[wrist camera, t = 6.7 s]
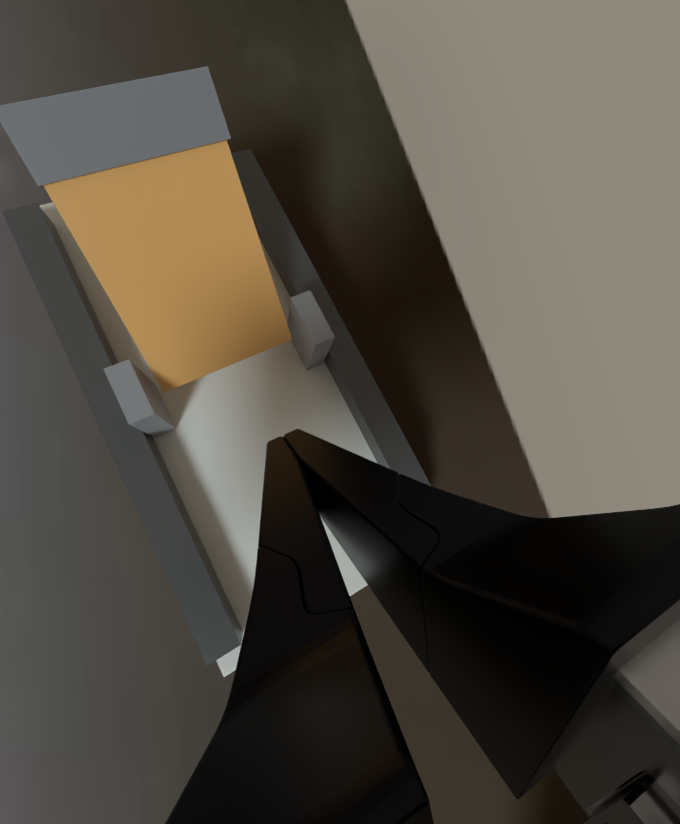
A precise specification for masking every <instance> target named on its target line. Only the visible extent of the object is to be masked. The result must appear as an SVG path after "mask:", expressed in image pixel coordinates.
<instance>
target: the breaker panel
mask: <svg viewBox="0 0 680 824" xmlns="http://www.w3.org/2000/svg"><path fill="white" fill-rule="evenodd" d="M231 155H232V158H233V161H234V164H235V167H236V170H237V173H238V176H239V179H240V182H241V185H242V188H243V191H244V194H245V197H246V200H247V203H248V206H249V209H250V213H251V216H252V219H253V222H254V225H255V228H256V231H257V234H258V237H259V240H260V243H261V246H262V249H263V252H264V255H265V258H266V261H267V264H268V267H269V270H270V273H271V276H272V279H273V282H274V285H275V288H276V292H277V295H278V298H279V301H280V304H281V307H282V310H283V313H284V316H285V319H286V322H287V325H288V328H289V331H290V334H291V337H292V340H290V341H287V342H285V343H283V344H280V345H278V346H275V347H273V348H270V349H268V350H266V351H263V352H261V353H258V354H256V355H254V356H251V357H249V358H246V359H244V360H242V361H239V362H237V363H234V364H232V365H229V366H227V367H225V368H222V369H220V370H217V371H215V372H213V373H210V374H208V375H205V376H203V377H200V378H198V379H196V380H193V381H191V382H188V383H186V384H184V385H181V386H179V387H176V388H174V389H171V390H169V391H167V392H164V391H163V389H162V388H161V386H160V384H159V383H158V381H157V379H156V378H155V376H154V374H153V372H152V371H151V369H150V367H149V366H148V364H147V362H146V360H145V359H144V357H143V355H142V354H141V352H140V350H139V348H138V347H137V345H136V343H135V342H134V340H133V338H132V336H131V335H130V333H129V331H128V330H127V328H126V326H125V324H124V323H123V321H122V319H121V318H120V316H119V314H118V312H117V311H116V309H115V307H114V306H113V304H112V302H111V300H110V299H109V297H108V295H107V294H106V292H105V290H104V288H103V287H102V285H101V283H100V282H99V280H98V278H97V276H96V275H95V273H94V271H93V270H92V268H91V266H90V264H89V263H88V261H87V259H86V258H85V256H84V254H83V252H82V251H81V249H80V247H79V246H78V244H77V242H76V240H75V239H74V237H73V235H72V234H71V232H70V230H69V228H68V227H67V225H66V223H65V222H64V220H63V218H62V216H61V215H60V213H59V211H58V210H57V208H56V206H55V204H54V203H53V202H52V203H48V204H44V205H40V206H39V205H38V204H37V203H35V204H31V205H27V206H23V207H19V208H15V209H11V210H7V211H3V214H4V216H5V219H6V221H7V223H8V225H9V228H10V230H11V232H12V234H13V236H14V239H15V241H16V243H17V245H18V248H19V250H20V252H21V254H22V256H23V259H24V261H25V263H26V265H27V268H28V270H29V272H30V274H31V276H32V279H33V281H34V283H35V285H36V288H37V290H38V292H39V294H40V296H41V299H42V301H43V303H44V305H45V308H46V310H47V312H48V314H49V316H50V319H51V321H52V323H53V325H54V328H55V330H56V332H57V334H58V336H59V339H60V341H61V343H62V345H63V347H64V350H65V352H66V354H67V356H68V359H69V361H70V363H71V365H72V367H73V370H74V372H75V374H76V376H77V379H78V381H79V383H80V385H81V387H82V390H83V392H84V394H85V396H86V399H87V401H88V403H89V405H90V407H91V410H92V412H93V414H94V416H95V419H96V421H97V423H98V425H99V427H100V430H101V432H102V434H103V436H104V439H105V441H106V443H107V445H108V447H109V450H110V452H111V454H112V456H113V459H114V461H115V463H116V465H117V467H118V470H119V472H120V474H121V476H122V479H123V481H124V483H125V485H126V487H127V490H128V492H129V494H130V496H131V499H132V501H133V503H134V505H135V507H136V510H137V512H138V514H139V516H140V519H141V521H142V523H143V525H144V527H145V530H146V532H147V534H148V536H149V539H150V541H151V543H152V545H153V547H154V550H155V552H156V554H157V556H158V559H159V561H160V563H161V565H162V567H163V570H164V572H165V574H166V576H167V579H168V581H169V583H170V585H171V587H172V590H173V592H174V594H175V596H176V599H177V601H178V603H179V605H180V607H181V610H182V612H183V614H184V616H185V619H186V621H187V623H188V625H189V627H190V630H191V632H192V634H193V636H194V639H195V641H196V643H197V645H198V647H199V650H200V652H201V654H202V656H203V659H204V661H205V663H206V665H207V666H208V665H210V664H211V663H213V662H214V661H217V663H218V665H219V668H220V670H221V672H222V674H223V676H224V677H225V676H227V675H228V674H230V673H232V672H233V671H235V670H236V666H237V662H238V657H239V653H240V648H241V644H242V639H243V635H244V630H245V626H246V621H247V617H248V612H249V607H250V602H251V597H252V592H253V586H254V579H255V570H256V562H257V550H258V548H259V547H258V540H259V529H260V517H261V505H262V493H263V481H264V470H265V458H266V446H267V442H268V441H270V440H272V439H275V438H277V437H279V436H282V437H284V434H286V433H288V432H290V431H293V430H295V429H300V430H303V431H305V432H307V433H309V434H312V435H314V436H316V437H318V438H321V439H323V440H325V441H328V442H330V443H332V444H334V445H337V446H339V447H341V448H344V449H346V450H348V451H350V452H353V453H355V454H357V455H359V456H362V457H364V458H366V459H369V460H371V461H373V462H375V463H378V464H380V465H382V466H384V467H387V468H389V469H391V470H394V471H396V472H398V473H399V475H400V474H403V475H405V476H408V477H410V478H412V479H414V480H417V481H419V482H422V483H424V484H427V485H429V486H431V484H430V482H429V481H428V479H427V477H426V475H425V473H424V471H423V469H422V467H421V466H420V464H419V462H418V460H417V458H416V456H415V454H414V453H413V451H412V449H411V447H410V445H409V443H408V441H407V440H406V438H405V436H404V434H403V432H402V430H401V428H400V426H399V425H398V423H397V421H396V419H395V417H394V415H393V413H392V412H391V410H390V408H389V406H388V404H387V402H386V400H385V399H384V397H383V395H382V393H381V391H380V389H379V387H378V385H377V384H376V382H375V380H374V378H373V376H372V374H371V372H370V371H369V369H368V367H367V365H366V363H365V361H364V359H363V357H362V356H361V354H360V352H359V350H358V348H357V346H356V344H355V343H354V341H353V339H352V337H351V335H350V333H349V331H348V330H347V328H346V326H345V324H344V322H343V320H342V318H341V316H340V315H339V313H338V311H337V309H336V307H335V305H334V303H333V302H332V300H331V298H330V296H329V294H328V292H327V290H326V289H325V287H324V285H323V283H322V281H321V279H320V277H319V275H318V274H317V272H316V270H315V268H314V266H313V264H312V262H311V261H310V259H309V257H308V255H307V253H306V251H305V249H304V247H303V246H302V244H301V242H300V240H299V238H298V236H297V234H296V233H295V231H294V229H293V227H292V225H291V223H290V221H289V220H288V218H287V216H286V214H285V212H284V210H283V208H282V206H281V205H280V203H279V201H278V199H277V197H276V195H275V193H274V192H273V190H272V188H271V186H270V184H269V182H268V180H267V179H266V177H265V175H264V173H263V171H262V169H261V167H260V165H259V164H258V162H257V160H256V158H255V156H254V154H253V152H252V151H251V149H250V148H249V149H245V150H241V151H237V152H234V153H231ZM320 517H321V516H320ZM321 519H322V518H321ZM322 522H323V525H324V528H325V530H326V533H327V536H328V539H329V541H330V544H331V547H332V550H333V552H334V555H335V558H336V560H337V563H338V566H339V569H340V571H341V574H342V577H343V580H344V582H345V585H346V588H347V591H348V593H349V596H351V595H353V594H354V593H356V592H357V591H359V590H360V589H362V588H364V587H365V586H367V585H368V584H367V583H366V581H365V580H364V579H363V577H362V576H361V574H360V573H359V571H358V570H357V569H356V567H355V566H354V564H353V563H352V561H351V560H350V558H349V557H348V556H347V554H346V553H345V551H344V550H343V548H342V547H341V546H340V544H339V543H338V541H337V540H336V538H335V537H334V535H333V534H332V533H331V531H330V530H329V528H328V527H327V525H326V524H325V522H324V521H323V519H322Z"/></svg>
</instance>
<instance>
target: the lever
mask: <svg viewBox="0 0 680 824" xmlns="http://www.w3.org/2000/svg"><path fill="white" fill-rule="evenodd" d="M0 123H1V124H2V126H3V128H4V129H5V131H6V133H7V134H8V136H9V138H10V139H11V141H12V143H13V145H14V146H15V148H16V150H17V151H18V153H19V155H20V156H21V158H22V160H23V161H24V163H25V165H26V167H27V168H28V170H29V172H30V173H31V175H32V177H33V178H34V180H35V182H36V183H37V185H38V186H40V187H42V188H45V189H46V191H47V192H48V194H49V196H50V198H51V199H52V201H53V203H54V204H55V206H56V208H57V210H58V211H59V213H60V215H61V216H62V218H63V220H64V222H65V223H66V225H67V227H68V228H69V230H70V232H71V234H72V235H73V237H74V239H75V240H76V242H77V244H78V246H79V247H80V249H81V251H82V252H83V254H84V256H85V258H86V259H87V261H88V263H89V264H90V266H91V268H92V270H93V271H94V273H95V275H96V276H97V278H98V280H99V282H100V283H101V285H102V287H103V288H104V290H105V292H106V294H107V295H108V297H109V299H110V300H111V302H112V304H113V306H114V307H115V309H116V311H117V312H118V314H119V316H120V318H121V319H122V321H123V323H124V324H125V326H126V328H127V330H128V331H129V333H130V335H131V336H132V338H133V340H134V342H135V343H136V345H137V347H138V348H139V350H140V352H141V354H142V355H143V357H144V359H145V360H146V362H147V364H148V366H149V367H150V369H151V371H152V372H153V374H154V376H155V378H156V379H157V381H158V383H159V384H160V386H161V388H162V389H163V391H164V392H167V391H169V390H171V389H174V388H176V387H179V386H181V385H184V384H186V383H188V382H191V381H193V380H196V379H198V378H200V377H203V376H205V375H208V374H210V373H213V372H215V371H217V370H220V369H222V368H225V367H227V366H229V365H232V364H234V363H237V362H239V361H242V360H244V359H246V358H249V357H251V356H254V355H256V354H258V353H261V352H263V351H266V350H268V349H270V348H273V347H275V346H278V345H280V344H283V343H285V342H287V341H290V340H292V337H291V334H290V331H289V328H288V325H287V322H286V319H285V316H284V313H283V310H282V307H281V304H280V301H279V298H278V295H277V292H276V288H275V285H274V282H273V279H272V276H271V273H270V270H269V267H268V264H267V261H266V258H265V255H264V252H263V249H262V246H261V243H260V240H259V237H258V234H257V231H256V228H255V225H254V222H253V219H252V216H251V213H250V209H249V206H248V203H247V200H246V197H245V194H244V191H243V188H242V185H241V182H240V179H239V176H238V173H237V170H236V167H235V164H234V161H233V158H232V155H231V152H230V149H229V146H228V143H227V142H228V141H229V140H230V139H231V137H230V134H229V131H228V128H227V125H226V122H225V118H224V115H223V112H222V109H221V106H220V103H219V100H218V97H217V94H216V91H215V87H214V84H213V81H212V78H211V75H210V72H209V69H208V66H207V67H202V68H196V69H191V70H186V71H180V72H175V73H170V74H165V75H159V76H154V77H149V78H143V79H138V80H133V81H127V82H122V83H117V84H111V85H106V86H101V87H95V88H90V89H85V90H80V91H74V92H69V93H64V94H58V95H53V96H48V97H42V98H37V99H32V100H26V101H21V102H16V103H10V104H5V105H0Z"/></svg>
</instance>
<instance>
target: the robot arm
mask: <svg viewBox="0 0 680 824" xmlns="http://www.w3.org/2000/svg"><path fill="white" fill-rule="evenodd" d="M320 516H321V517H320ZM321 518H322V519H323V521H324V522H325V524H326V525H327V527H328V528H329V530H330V531H331V533H332V534H333V535H334V537H335V538H336V540H337V541H338V543H339V544H340V546H341V547H342V548H343V550H344V551H345V553H346V554H347V556H348V557H349V558H350V560H351V561H352V563H353V564H354V566H355V567H356V569H357V570H358V571H359V573H360V574H361V576H362V577H363V579H364V580H365V581H366V583H367V584H368V586H369V587H370V589H371V590H372V592H373V593H374V594H375V596H376V597H377V599H378V600H379V602H380V603H381V605H382V606H383V607H384V609H385V610H386V612H387V613H388V615H389V616H390V617H391V619H392V620H393V622H394V623H395V625H396V626H397V628H398V629H399V630H400V632H401V633H402V635H403V636H404V638H405V639H406V641H407V642H408V643H409V645H410V646H411V648H412V649H413V651H414V652H415V653H416V655H417V656H418V658H419V659H420V661H421V662H422V664H423V665H424V666H425V668H426V669H427V671H428V672H430V675H431V677H432V678H433V680H434V681H435V682H436V684H437V685H438V687H439V688H440V690H441V691H442V692H443V694H444V695H445V697H446V698H447V700H448V701H449V703H450V704H451V705H452V707H453V708H454V710H455V711H456V713H457V714H458V715H459V717H460V718H461V720H462V721H463V723H464V724H465V726H466V727H467V728H468V730H469V731H470V733H471V734H472V736H473V737H474V738H475V740H476V741H477V743H478V744H479V746H480V747H481V749H482V750H483V751H484V753H485V754H486V756H487V757H488V759H489V760H490V761H491V763H492V764H493V766H494V767H495V769H496V770H497V772H498V773H499V774H500V776H501V777H502V779H503V780H504V782H505V783H506V784H507V786H508V787H509V789H510V790H511V792H512V793H513V794H514V796H515V797H516V799H519V798H521V797H522V796H523V795H524V794H525V793H526V792H527V791H529V790H530V789H531V788H532V787H533V786H534V785H535V784H537V783H538V782H539V781H540V780H541V779H542V778H543V777H545V776H546V775H547V774H548V773H549V772H550V771H551V770H553V769H554V770H555V772H556V773H557V774H558V776H559V777H560V779H561V780H562V781H563V783H564V784H565V786H566V787H567V788H568V790H569V791H570V792H571V794H572V795H573V797H574V798H575V799H576V801H577V802H578V804H579V805H580V806H581V808H582V809H583V810H584V812H585V813H586V815H587V816H588V818H587V819H586V820H585V821H584V822H583V823H582V824H680V504H679V505H674V506H670V507H663V508H655V509H646V510H635V511H624V512H612V513H602V514H592V515H580V516H570V517H559V518H535V517H528V516H523V515H519V514H515V513H511V512H508V511H505V510H502V509H499V508H495V507H492V506H489V505H486V504H483V503H480V502H477V501H473V500H470V499H467V498H464V497H461V496H458V495H455V494H452V493H449V492H446V491H443V490H440V489H437V488H434V487H432V486H429V485H427V484H424V483H422V482H419V481H417V480H414V479H412V478H410V477H408V476H405V475H403V474H400V475H399V473H398V472H396V471H394V470H391V469H389V468H387V467H384V466H382V465H380V464H378V463H375V462H373V461H371V460H369V459H366V458H364V457H362V456H359V455H357V454H355V453H353V452H350V451H348V450H346V449H344V448H341V447H339V446H337V445H334V444H332V443H330V442H328V441H325V440H323V439H321V438H318V437H316V436H314V435H312V434H309V433H307V432H305V431H303V430H300V429H295V430H293V431H290V432H288V433H286V434H284V437H282V436H279V437H277V438H275V439H272V440H270V441H268V442H267V446H266V458H265V470H264V481H263V493H262V505H261V517H260V529H259V540H258V547H259V548H258V550H257V562H256V570H255V579H254V586H253V592H252V597H251V602H250V607H249V612H248V617H247V621H246V626H245V630H244V635H243V639H242V644H241V648H240V653H239V657H238V662H237V666H236V671H235V675H234V680H233V684H232V688H231V692H230V695H229V699H228V702H227V706H226V708H225V711H224V714H223V717H222V719H221V721H220V723H219V726H218V728H217V730H216V732H215V734H214V736H213V738H212V739H211V741H210V743H209V745H208V747H207V749H206V750H205V752H204V754H203V756H202V758H201V759H200V761H199V763H198V765H197V767H196V769H195V770H194V772H193V774H192V776H191V778H190V779H189V781H188V783H187V785H186V787H185V789H184V790H183V792H182V794H181V796H180V798H179V799H178V801H177V803H176V805H175V807H174V809H173V810H172V812H171V814H170V816H169V818H168V819H167V821H166V823H165V824H434V823H433V818H432V813H431V808H430V803H429V799H428V796H427V794H426V791H425V789H424V786H423V784H422V781H421V779H420V777H419V774H418V772H417V769H416V767H415V764H414V762H413V759H412V757H411V754H410V752H409V749H408V747H407V744H406V741H405V739H404V736H403V734H402V731H401V729H400V726H399V724H398V721H397V718H396V716H395V713H394V711H393V708H392V706H391V703H390V701H389V698H388V696H387V693H386V690H385V688H384V685H383V683H382V680H381V678H380V675H379V673H378V670H377V668H376V665H375V662H374V660H373V657H372V655H371V652H370V650H369V647H368V645H367V642H366V639H365V637H364V634H363V631H362V629H361V626H360V623H359V621H358V618H357V615H356V612H355V610H354V607H353V604H352V602H351V599H350V596H349V593H348V591H347V588H346V585H345V582H344V580H343V577H342V574H341V571H340V569H339V566H338V563H337V560H336V558H335V555H334V552H333V550H332V547H331V544H330V541H329V539H328V536H327V533H326V530H325V528H324V525H323V522H322V519H321Z"/></svg>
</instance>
